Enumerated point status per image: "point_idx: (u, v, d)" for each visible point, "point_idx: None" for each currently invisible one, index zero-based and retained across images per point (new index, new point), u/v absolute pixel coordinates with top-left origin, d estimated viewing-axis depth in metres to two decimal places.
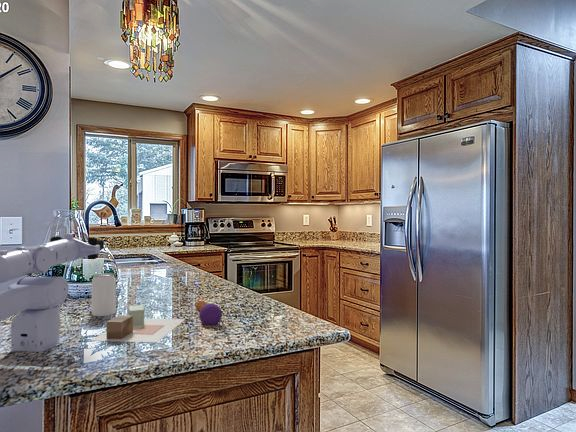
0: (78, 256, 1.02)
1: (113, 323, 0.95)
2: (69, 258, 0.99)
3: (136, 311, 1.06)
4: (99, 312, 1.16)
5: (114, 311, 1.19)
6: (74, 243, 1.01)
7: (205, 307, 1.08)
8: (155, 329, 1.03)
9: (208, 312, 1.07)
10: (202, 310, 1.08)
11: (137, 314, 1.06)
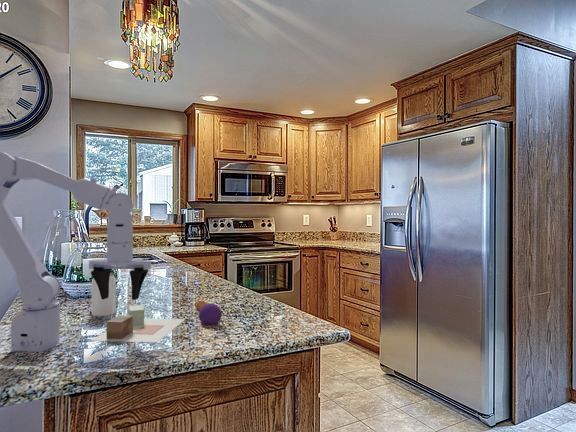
0: None
1: (113, 323, 0.95)
2: None
3: (136, 311, 1.06)
4: (99, 312, 1.16)
5: (114, 311, 1.19)
6: (107, 258, 0.96)
7: (205, 307, 1.08)
8: (155, 329, 1.03)
9: (207, 312, 1.07)
10: (202, 310, 1.08)
11: (137, 314, 1.06)
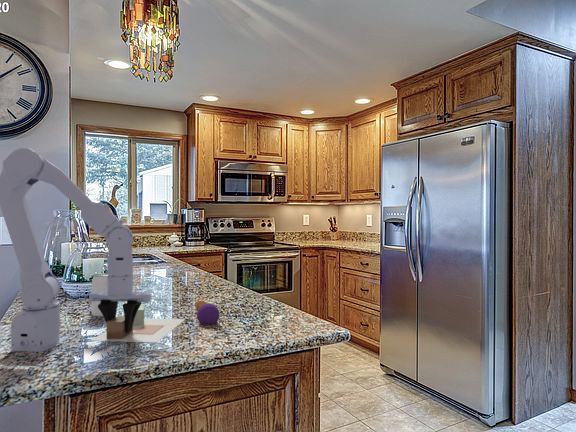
0: None
1: (113, 323, 0.95)
2: None
3: None
4: (99, 312, 1.16)
5: None
6: (107, 291, 0.96)
7: (203, 307, 1.08)
8: (155, 329, 1.03)
9: (205, 312, 1.07)
10: (200, 310, 1.08)
11: (137, 314, 1.06)
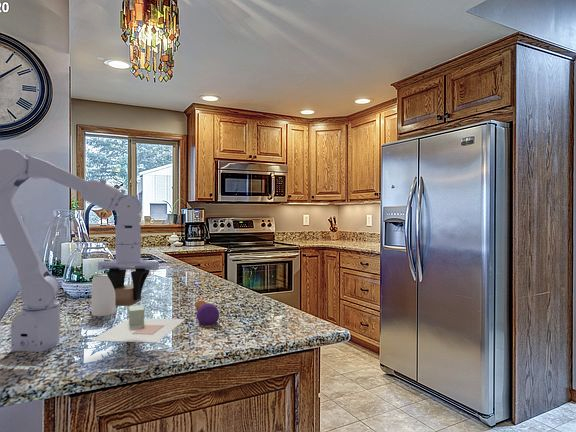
0: None
1: (122, 290, 0.96)
2: None
3: (136, 311, 1.06)
4: (99, 312, 1.16)
5: (114, 311, 1.19)
6: (116, 259, 0.98)
7: (202, 307, 1.08)
8: (155, 329, 1.03)
9: (205, 312, 1.07)
10: (199, 310, 1.08)
11: (137, 314, 1.06)
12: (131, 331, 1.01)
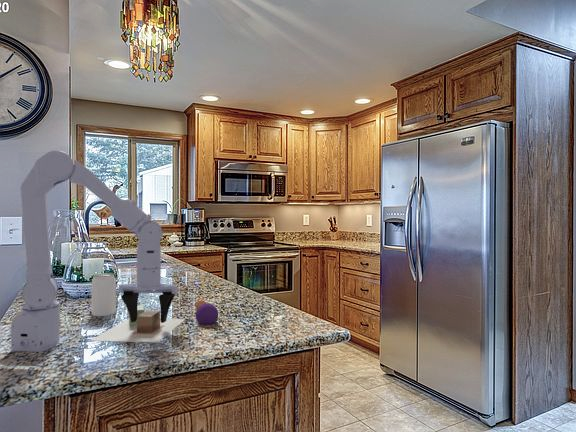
0: None
1: (143, 317, 1.00)
2: None
3: None
4: (99, 312, 1.16)
5: (114, 311, 1.19)
6: (137, 283, 1.01)
7: (201, 307, 1.08)
8: None
9: (204, 312, 1.07)
10: (198, 310, 1.08)
11: (137, 314, 1.06)
12: (131, 331, 1.01)
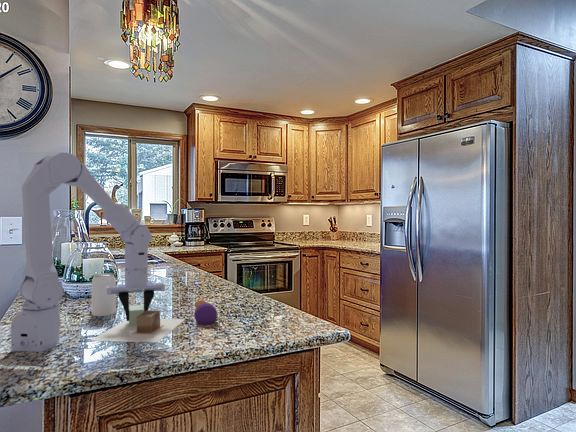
0: None
1: (143, 317, 1.00)
2: None
3: (136, 311, 1.06)
4: (99, 312, 1.16)
5: (114, 311, 1.19)
6: (127, 284, 1.07)
7: (200, 306, 1.08)
8: None
9: (202, 312, 1.07)
10: (197, 309, 1.08)
11: (137, 314, 1.06)
12: (131, 331, 1.01)
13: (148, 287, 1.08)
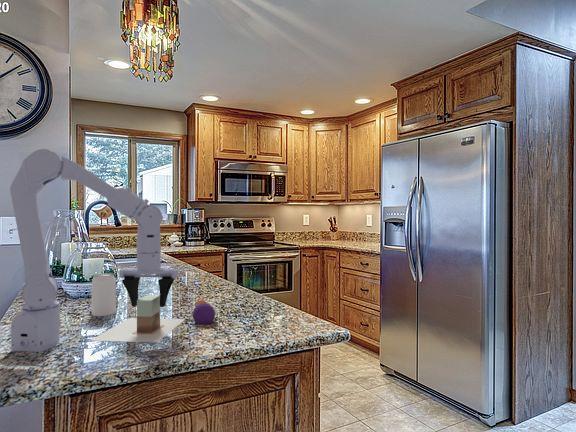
0: None
1: (143, 317, 1.00)
2: None
3: (143, 301, 1.00)
4: (99, 312, 1.16)
5: (114, 311, 1.19)
6: (137, 267, 1.01)
7: (198, 306, 1.09)
8: None
9: (200, 312, 1.07)
10: (195, 309, 1.08)
11: (144, 304, 1.00)
12: (131, 331, 1.01)
13: (156, 272, 1.00)
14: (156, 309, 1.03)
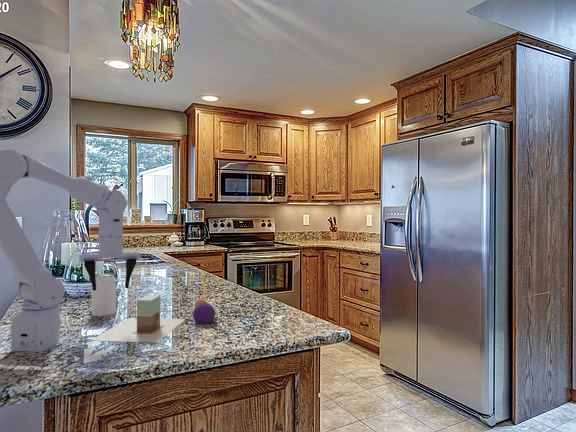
0: None
1: (143, 317, 1.00)
2: None
3: (143, 301, 1.00)
4: (99, 312, 1.16)
5: (114, 311, 1.19)
6: (101, 251, 1.03)
7: (198, 306, 1.09)
8: None
9: (200, 312, 1.07)
10: (195, 309, 1.09)
11: (144, 304, 1.00)
12: (131, 331, 1.01)
13: (123, 255, 1.05)
14: (156, 309, 1.03)
